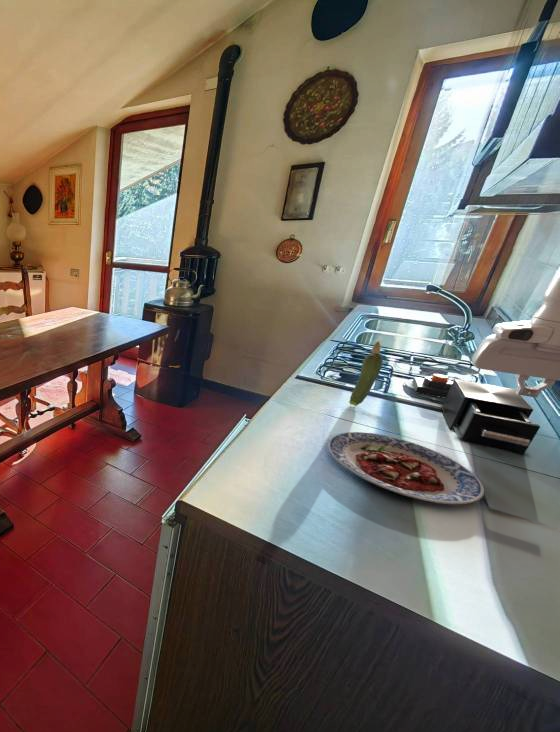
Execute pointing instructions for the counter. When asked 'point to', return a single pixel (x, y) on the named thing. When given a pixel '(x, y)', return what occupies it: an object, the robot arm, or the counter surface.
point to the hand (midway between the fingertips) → (525, 395)
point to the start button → (440, 378)
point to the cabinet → (479, 399)
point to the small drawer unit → (496, 427)
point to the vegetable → (367, 375)
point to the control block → (431, 386)
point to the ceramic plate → (406, 468)
